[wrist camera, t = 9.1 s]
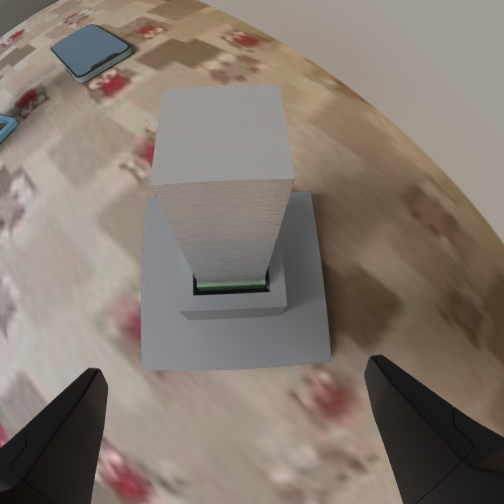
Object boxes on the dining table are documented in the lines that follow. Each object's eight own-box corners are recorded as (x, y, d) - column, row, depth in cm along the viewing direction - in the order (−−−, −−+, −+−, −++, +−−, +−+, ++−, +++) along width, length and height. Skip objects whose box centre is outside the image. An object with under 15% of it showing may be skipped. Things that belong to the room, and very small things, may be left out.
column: (263, 288, 17) (299, 182, 7) (199, 291, 17) (145, 189, 7) (258, 222, 18) (280, 74, 8) (198, 225, 18) (162, 79, 8)
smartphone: (92, 21, 32) (133, 45, 29) (94, 29, 34) (136, 56, 30) (48, 47, 31) (76, 79, 27) (52, 55, 32) (81, 89, 28)
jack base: (326, 360, 20) (357, 360, 15) (147, 369, 19) (115, 372, 14) (307, 199, 24) (325, 154, 18) (150, 206, 23) (128, 163, 18)
